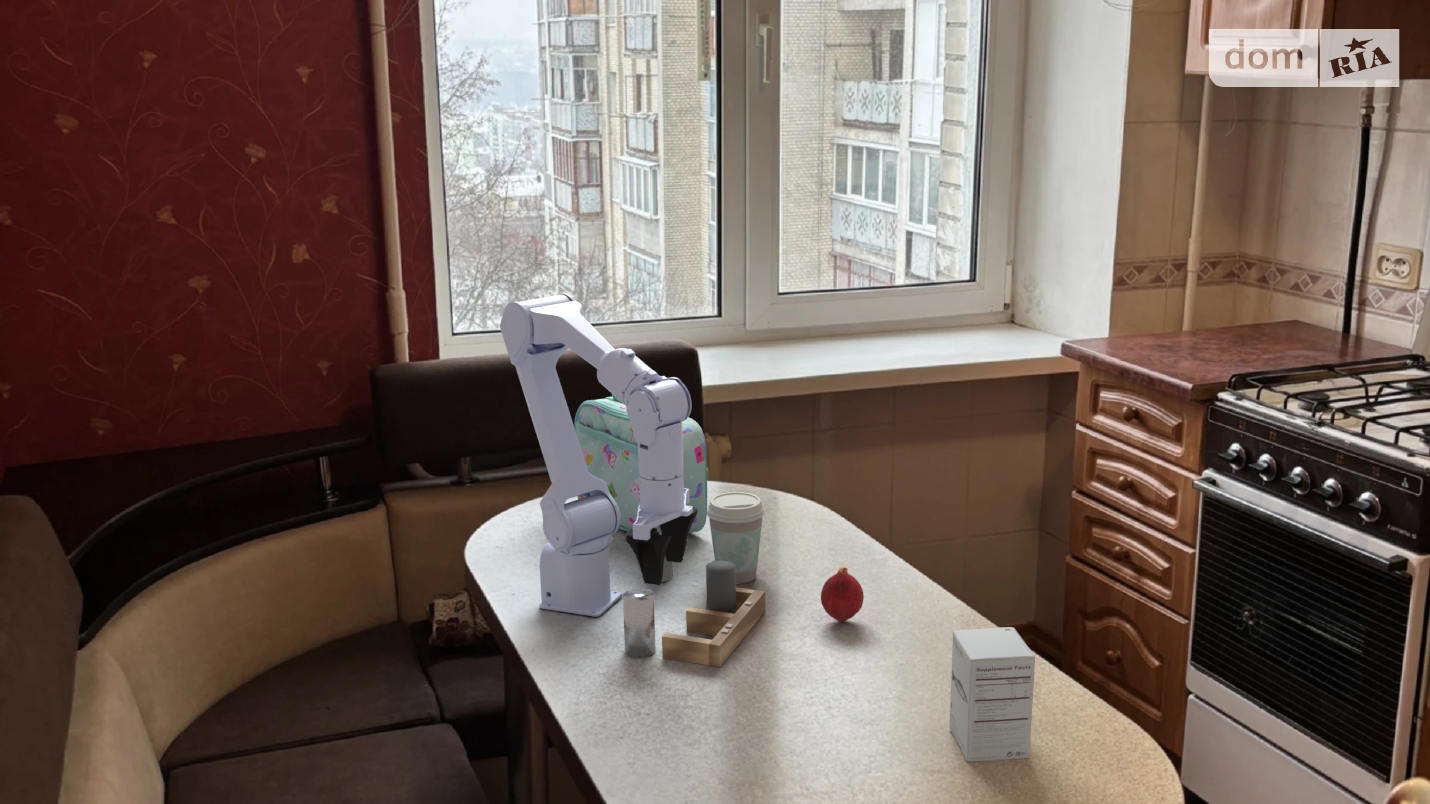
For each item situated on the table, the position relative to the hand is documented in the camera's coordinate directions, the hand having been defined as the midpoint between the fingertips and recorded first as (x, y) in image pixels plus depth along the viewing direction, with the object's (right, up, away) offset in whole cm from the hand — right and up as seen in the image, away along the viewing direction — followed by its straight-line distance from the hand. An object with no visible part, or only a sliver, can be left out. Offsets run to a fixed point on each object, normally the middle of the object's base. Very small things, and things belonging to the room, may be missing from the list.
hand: (663, 572), depth 166 cm
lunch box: (-6, +2, +45) cm, 45 cm away
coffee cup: (+10, -4, +23) cm, 25 cm away
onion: (+24, -8, +7) cm, 26 cm away
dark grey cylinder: (+8, -8, +8) cm, 14 cm away
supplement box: (+37, -16, -23) cm, 47 cm away
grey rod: (-3, -10, 0) cm, 11 cm away
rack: (+7, -9, +5) cm, 12 cm away
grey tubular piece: (-2, -4, +23) cm, 24 cm away
